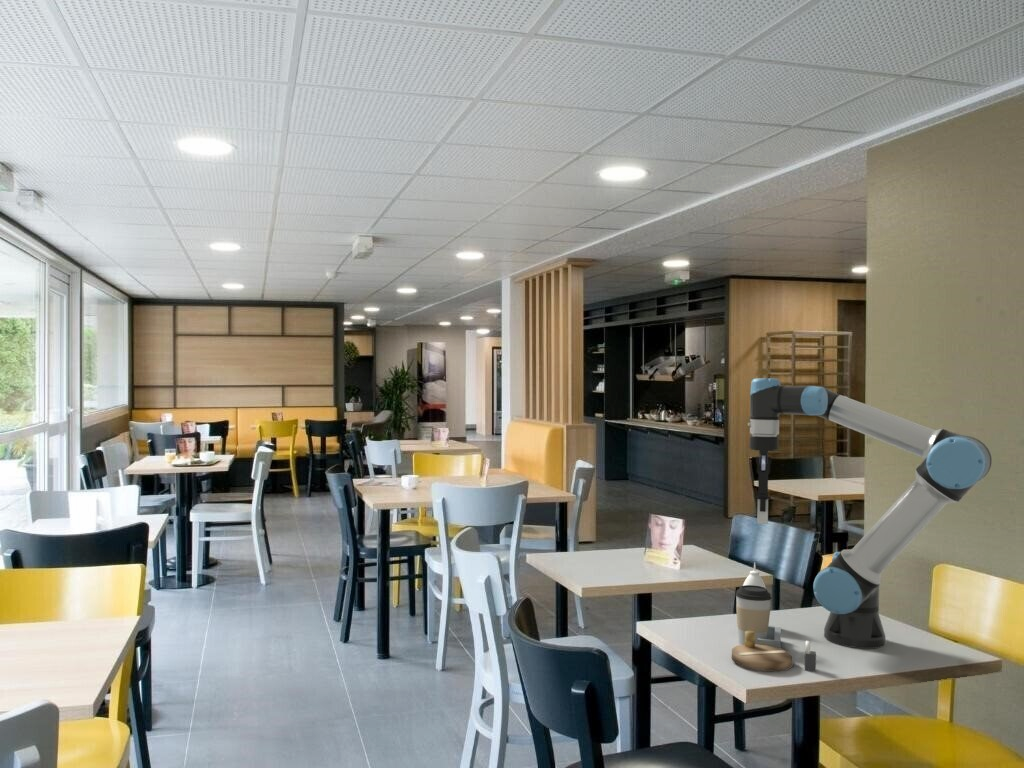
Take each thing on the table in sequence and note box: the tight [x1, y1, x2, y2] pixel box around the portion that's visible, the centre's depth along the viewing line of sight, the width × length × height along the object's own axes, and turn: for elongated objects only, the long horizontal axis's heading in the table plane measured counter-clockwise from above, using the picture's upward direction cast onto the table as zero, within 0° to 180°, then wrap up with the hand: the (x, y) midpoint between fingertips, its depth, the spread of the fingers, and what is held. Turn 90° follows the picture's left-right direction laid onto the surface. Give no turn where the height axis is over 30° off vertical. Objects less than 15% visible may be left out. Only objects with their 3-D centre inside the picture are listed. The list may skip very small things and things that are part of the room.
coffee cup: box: [735, 585, 773, 645], centre depth 217 cm, size 9×9×15 cm
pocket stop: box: [757, 625, 782, 649], centre depth 216 cm, size 6×14×4 cm, turn 162°
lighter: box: [804, 640, 817, 672], centre depth 198 cm, size 2×3×7 cm
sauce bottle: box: [742, 561, 767, 589], centre depth 234 cm, size 8×8×18 cm
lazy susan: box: [731, 631, 793, 672], centre depth 202 cm, size 14×14×5 cm
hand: (762, 523), depth 225 cm, fingers closed
